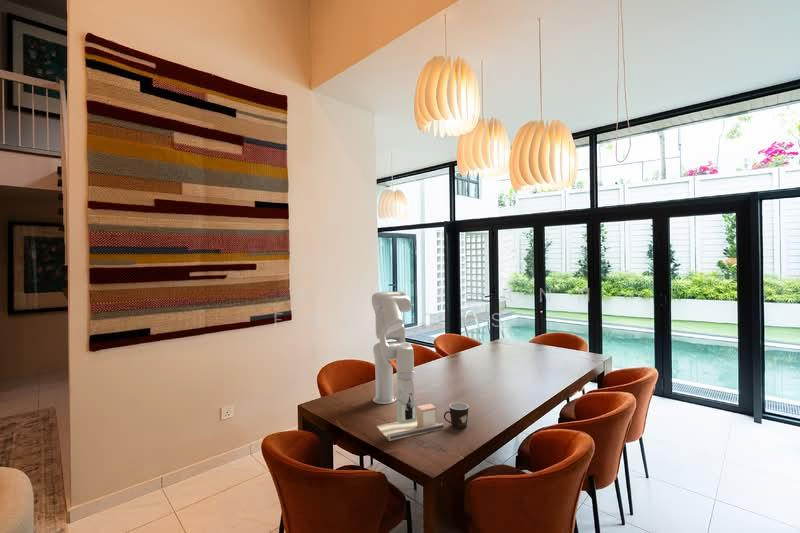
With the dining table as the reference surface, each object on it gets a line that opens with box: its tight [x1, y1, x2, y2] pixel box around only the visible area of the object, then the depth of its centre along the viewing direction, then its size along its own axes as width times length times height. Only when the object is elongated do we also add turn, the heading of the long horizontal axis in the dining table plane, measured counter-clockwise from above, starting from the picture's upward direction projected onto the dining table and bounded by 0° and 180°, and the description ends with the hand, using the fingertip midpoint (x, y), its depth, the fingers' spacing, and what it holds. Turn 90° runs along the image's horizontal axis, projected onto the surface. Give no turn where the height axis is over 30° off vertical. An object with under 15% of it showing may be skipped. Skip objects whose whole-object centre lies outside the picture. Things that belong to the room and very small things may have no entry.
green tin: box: [395, 398, 417, 424], centre depth 164 cm, size 7×5×9 cm
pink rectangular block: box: [416, 403, 437, 428], centre depth 168 cm, size 7×5×9 cm
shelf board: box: [376, 417, 445, 442], centre depth 168 cm, size 16×26×3 cm, turn 113°
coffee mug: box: [443, 402, 470, 430], centre depth 168 cm, size 12×9×10 cm
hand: (406, 416), depth 164 cm, fingers closed on green tin, 5 cm apart
